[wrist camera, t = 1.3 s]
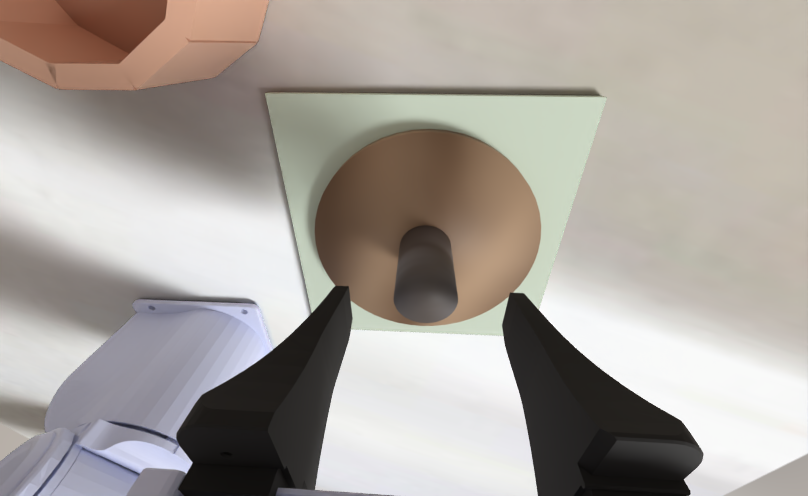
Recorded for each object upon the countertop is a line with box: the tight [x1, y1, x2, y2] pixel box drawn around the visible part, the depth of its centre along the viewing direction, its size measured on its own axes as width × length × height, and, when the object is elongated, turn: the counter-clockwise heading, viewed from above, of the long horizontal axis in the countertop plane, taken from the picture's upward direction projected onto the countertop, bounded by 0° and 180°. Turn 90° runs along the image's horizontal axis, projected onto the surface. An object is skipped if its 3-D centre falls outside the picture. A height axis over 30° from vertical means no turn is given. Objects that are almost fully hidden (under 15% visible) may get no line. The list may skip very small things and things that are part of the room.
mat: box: [265, 92, 607, 336], centre depth 19 cm, size 16×16×1 cm
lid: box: [315, 129, 541, 326], centre depth 17 cm, size 13×13×5 cm
